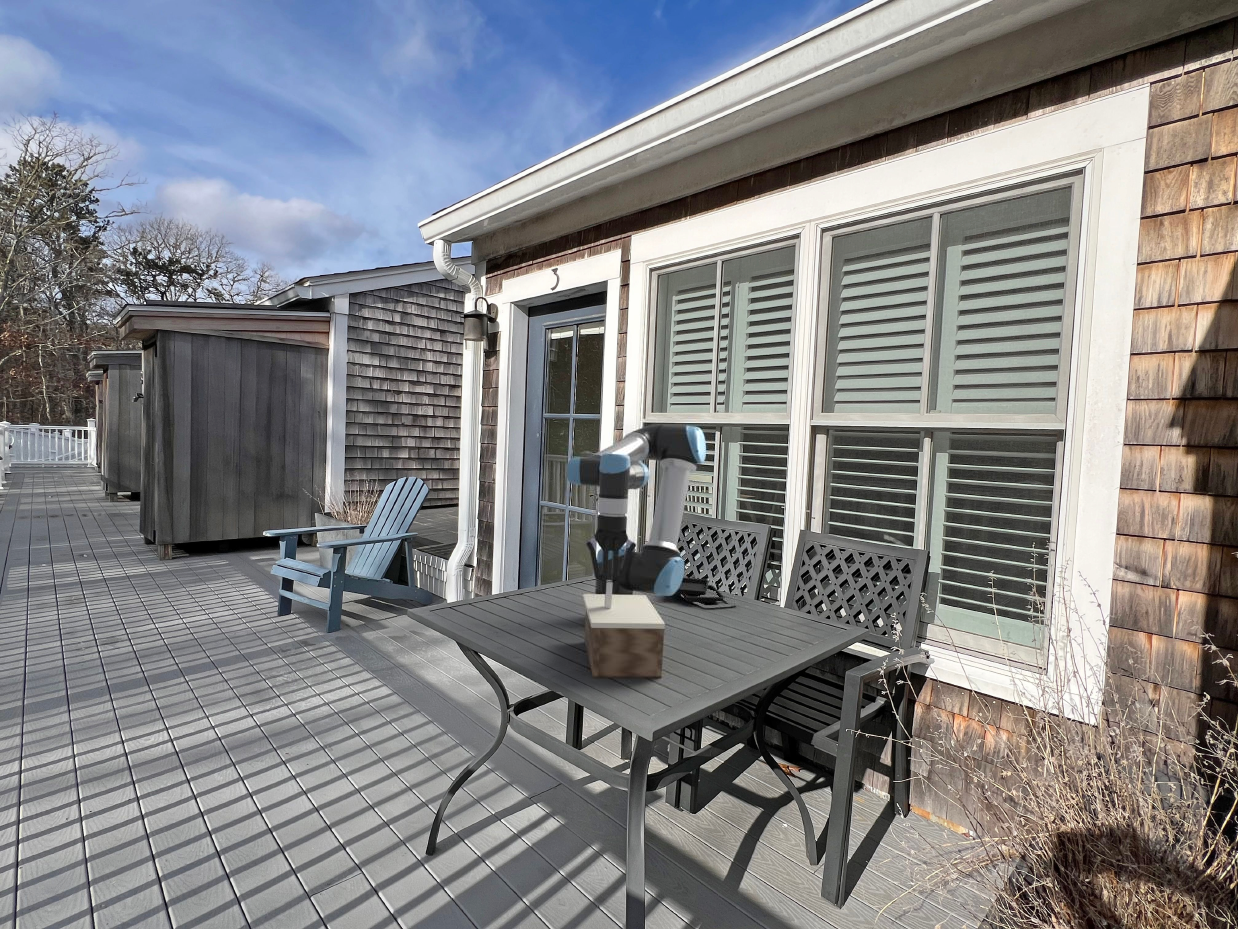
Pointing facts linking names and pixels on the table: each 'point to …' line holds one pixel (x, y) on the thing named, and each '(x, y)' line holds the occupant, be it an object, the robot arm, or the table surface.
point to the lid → (622, 612)
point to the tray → (697, 590)
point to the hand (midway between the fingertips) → (607, 606)
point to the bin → (624, 652)
